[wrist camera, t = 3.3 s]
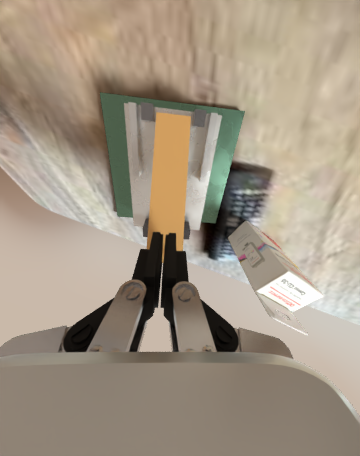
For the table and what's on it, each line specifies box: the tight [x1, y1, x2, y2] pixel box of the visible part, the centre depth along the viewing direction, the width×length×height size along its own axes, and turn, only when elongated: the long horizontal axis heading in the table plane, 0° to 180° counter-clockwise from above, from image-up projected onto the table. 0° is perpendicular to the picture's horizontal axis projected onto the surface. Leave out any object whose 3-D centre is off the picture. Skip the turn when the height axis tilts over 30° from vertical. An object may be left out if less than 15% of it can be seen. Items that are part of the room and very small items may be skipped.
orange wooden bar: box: [147, 112, 191, 263], centre depth 13 cm, size 13×3×1 cm
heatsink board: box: [100, 92, 245, 239], centre depth 19 cm, size 15×16×7 cm
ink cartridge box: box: [228, 220, 323, 335], centre depth 23 cm, size 9×5×15 cm, turn 54°
